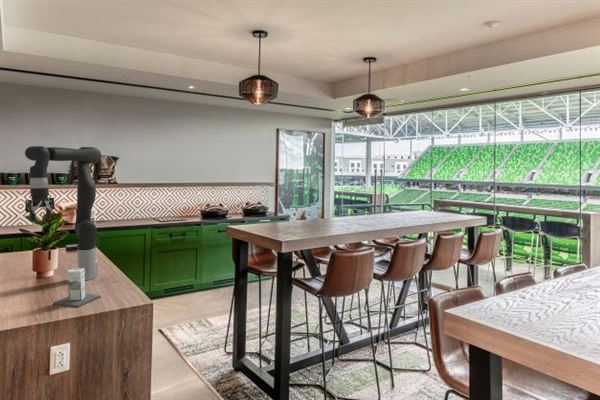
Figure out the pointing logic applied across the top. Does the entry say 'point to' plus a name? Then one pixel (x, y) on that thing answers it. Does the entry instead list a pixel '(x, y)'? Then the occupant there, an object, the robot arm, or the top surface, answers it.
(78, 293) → the syrup box
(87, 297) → the charcoal mat
